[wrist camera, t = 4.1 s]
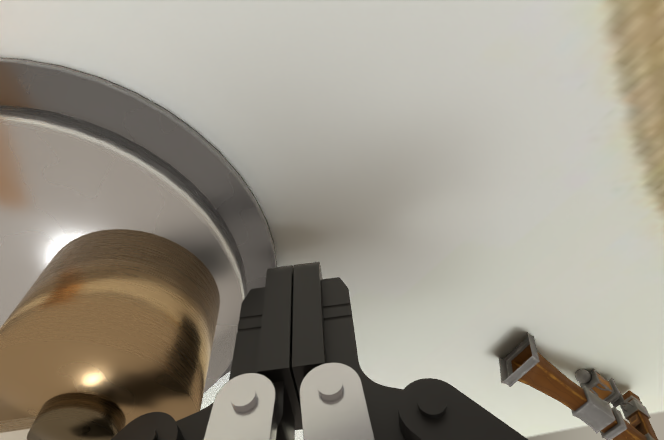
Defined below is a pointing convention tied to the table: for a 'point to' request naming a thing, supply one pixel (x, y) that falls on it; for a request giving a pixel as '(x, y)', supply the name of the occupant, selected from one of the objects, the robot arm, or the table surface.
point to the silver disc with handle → (103, 208)
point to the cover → (107, 338)
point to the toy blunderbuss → (580, 394)
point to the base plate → (149, 146)
